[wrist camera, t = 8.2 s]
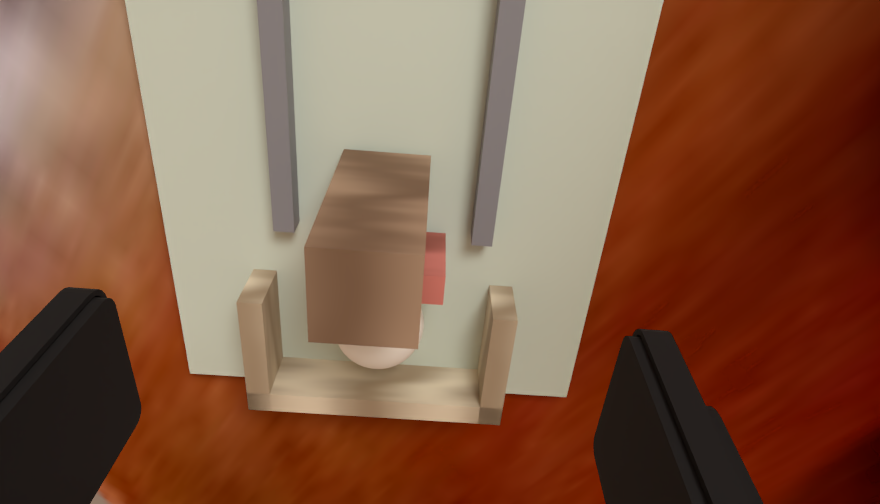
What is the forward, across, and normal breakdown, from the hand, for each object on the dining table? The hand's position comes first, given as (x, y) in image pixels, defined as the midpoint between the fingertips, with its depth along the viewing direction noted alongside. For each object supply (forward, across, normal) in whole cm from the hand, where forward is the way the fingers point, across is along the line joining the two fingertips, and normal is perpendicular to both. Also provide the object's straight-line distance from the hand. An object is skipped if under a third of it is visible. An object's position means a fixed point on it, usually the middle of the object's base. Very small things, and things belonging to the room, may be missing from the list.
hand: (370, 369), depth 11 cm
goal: (+18, +1, +13) cm, 22 cm away
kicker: (+17, +1, +6) cm, 18 cm away
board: (+19, +1, +5) cm, 19 cm away
